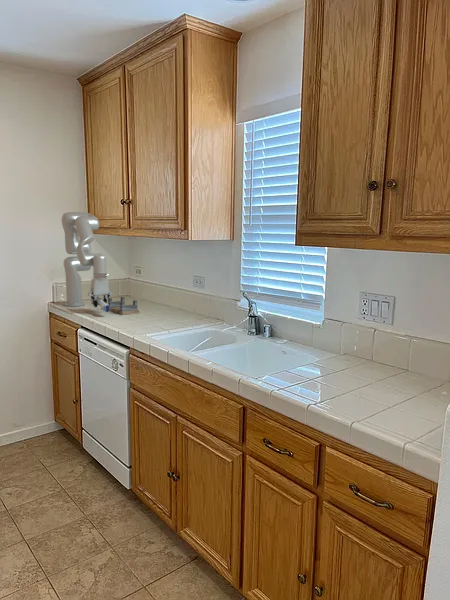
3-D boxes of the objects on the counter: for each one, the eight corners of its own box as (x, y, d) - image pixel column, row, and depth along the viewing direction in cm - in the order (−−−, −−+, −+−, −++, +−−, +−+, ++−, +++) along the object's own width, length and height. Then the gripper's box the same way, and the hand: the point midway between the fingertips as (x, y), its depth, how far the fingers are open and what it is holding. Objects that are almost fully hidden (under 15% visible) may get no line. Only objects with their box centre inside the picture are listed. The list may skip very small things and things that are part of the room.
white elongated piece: (102, 305, 258) (89, 292, 278) (102, 316, 260) (89, 302, 280) (111, 304, 261) (98, 291, 280) (111, 315, 263) (98, 301, 282)
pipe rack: (106, 309, 284) (106, 297, 283) (122, 308, 291) (122, 296, 290) (122, 315, 268) (122, 302, 267) (139, 313, 275) (139, 300, 274)
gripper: (110, 274, 275) (110, 303, 279) (83, 275, 265) (83, 306, 268) (116, 276, 270) (116, 306, 273) (88, 277, 259) (89, 308, 262)
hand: (100, 305), depth 270 cm, fingers closed on white elongated piece, 5 cm apart
